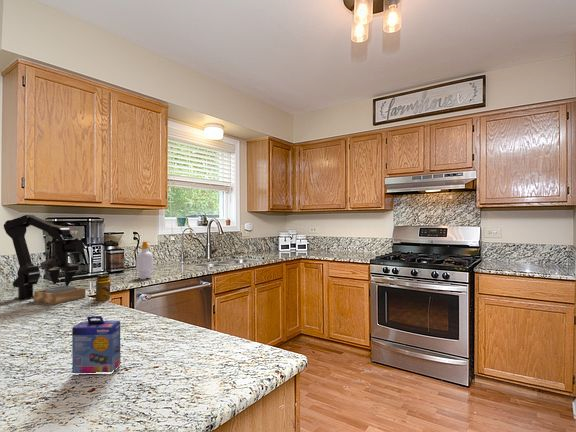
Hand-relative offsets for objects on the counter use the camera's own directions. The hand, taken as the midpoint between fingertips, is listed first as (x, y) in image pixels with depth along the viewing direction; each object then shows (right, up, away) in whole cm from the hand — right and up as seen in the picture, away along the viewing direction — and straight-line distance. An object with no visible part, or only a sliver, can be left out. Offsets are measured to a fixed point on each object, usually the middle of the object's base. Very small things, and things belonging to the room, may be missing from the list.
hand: (60, 284), depth 164 cm
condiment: (+21, -7, -2) cm, 22 cm away
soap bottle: (+16, -8, +58) cm, 60 cm away
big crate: (0, -7, 0) cm, 7 cm away
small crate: (0, -6, 0) cm, 6 cm away
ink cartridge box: (+62, -6, -78) cm, 100 cm away
